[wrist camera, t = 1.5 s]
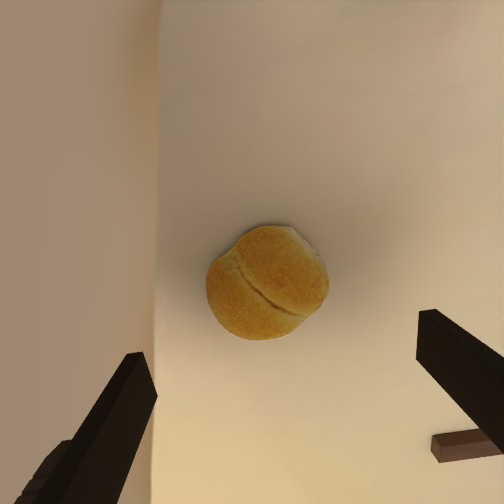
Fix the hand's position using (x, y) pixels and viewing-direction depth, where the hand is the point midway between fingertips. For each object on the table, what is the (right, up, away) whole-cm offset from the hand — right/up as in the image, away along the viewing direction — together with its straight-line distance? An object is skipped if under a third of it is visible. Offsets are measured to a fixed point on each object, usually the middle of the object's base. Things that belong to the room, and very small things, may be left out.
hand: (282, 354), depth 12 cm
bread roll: (0, +3, +8) cm, 9 cm away
